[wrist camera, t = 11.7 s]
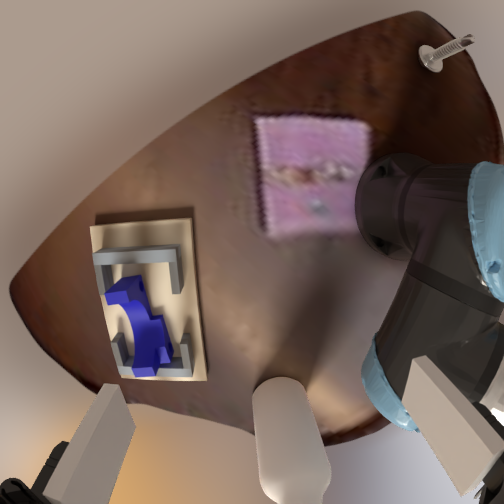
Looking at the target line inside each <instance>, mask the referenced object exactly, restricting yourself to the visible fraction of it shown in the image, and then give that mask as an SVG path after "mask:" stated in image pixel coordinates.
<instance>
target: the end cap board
mask: <svg viewBox="0 0 504 504" xmlns="http://www.w3.org/2000/svg"><path fill="white" fill-rule="evenodd" d="M90 231H91V240H92V247H93V253H92V254H93V261H94V267H95V273H96V279H97V285H98V290H99V295H101V300H102V305H103V310H104V314H105V318H106V323H107V327H108V331H109V335H110V339H111V346H112V350H113V353H114V357H115V360H116V364H117V367H118V370H119V373H120V374H121V377H122V378H131V379H147V380H173V381H207V378H208V373H207V365H206V358H205V350H204V342H203V334H202V326H201V317H200V308H199V298H198V288H197V277H196V266H195V254H194V241H193V227H192V218H180V219H165V220H150V221H137V222H124V223H112V224H101V225H93V226H91V227H90ZM135 275H141V276H142V280H143V284H144V287H145V291H146V295H147V298H148V302H149V305H150V308H151V312H152V315H153V316H155V315H162V314H163V317H164V320H165V324H166V327H167V330H168V333H169V337H170V340H171V343H172V346H173V349H174V354H173V357H172V360H171V363H162V364H160V366H159V369H158V372H157V374H156V376H154V377H136V378H135V376H134V374H133V371H132V369H131V368H132V365H133V362H134V354H135V345H134V336H133V331H132V327H131V324H130V321H129V318H128V316H127V314H126V312H125V311H124V309H123V308H122V307H121V306H120V305H119V304H116V305H107V302H106V298H105V295H104V293H105V292H106V291H107V290H109V289H110V288H111V287H112V286H113V285H114V284H115V283H116V282H117V281H118V280H119V279H121V278H123V277H129V276H135Z"/></svg>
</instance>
